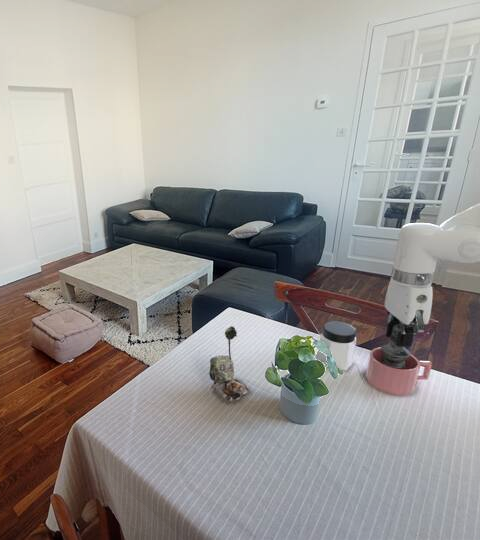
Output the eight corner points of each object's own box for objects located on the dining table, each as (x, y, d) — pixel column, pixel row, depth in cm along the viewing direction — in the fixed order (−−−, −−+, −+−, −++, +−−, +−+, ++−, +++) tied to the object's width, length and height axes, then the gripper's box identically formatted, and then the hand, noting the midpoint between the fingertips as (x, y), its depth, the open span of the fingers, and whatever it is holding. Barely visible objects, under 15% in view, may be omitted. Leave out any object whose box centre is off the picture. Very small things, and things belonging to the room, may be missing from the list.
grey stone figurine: (381, 352, 93) (389, 314, 89) (409, 360, 89) (418, 320, 85) (377, 363, 89) (384, 323, 85) (405, 371, 85) (414, 330, 81)
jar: (349, 357, 103) (355, 323, 99) (354, 373, 96) (360, 337, 92) (316, 352, 107) (320, 319, 103) (318, 368, 100) (322, 333, 96)
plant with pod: (203, 386, 98) (201, 327, 91) (240, 380, 99) (241, 320, 92) (213, 406, 90) (212, 343, 83) (253, 399, 91) (256, 335, 84)
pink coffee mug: (378, 396, 88) (383, 370, 85) (358, 370, 97) (362, 347, 94) (440, 397, 85) (447, 371, 82) (413, 371, 95) (419, 347, 92)
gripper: (456, 289, 72) (437, 360, 78) (407, 262, 87) (394, 324, 94) (416, 290, 73) (401, 360, 80) (375, 264, 89) (364, 325, 95)
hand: (397, 340), depth 87 cm, fingers closed on grey stone figurine, 3 cm apart
